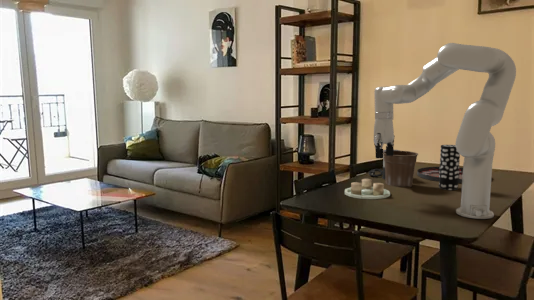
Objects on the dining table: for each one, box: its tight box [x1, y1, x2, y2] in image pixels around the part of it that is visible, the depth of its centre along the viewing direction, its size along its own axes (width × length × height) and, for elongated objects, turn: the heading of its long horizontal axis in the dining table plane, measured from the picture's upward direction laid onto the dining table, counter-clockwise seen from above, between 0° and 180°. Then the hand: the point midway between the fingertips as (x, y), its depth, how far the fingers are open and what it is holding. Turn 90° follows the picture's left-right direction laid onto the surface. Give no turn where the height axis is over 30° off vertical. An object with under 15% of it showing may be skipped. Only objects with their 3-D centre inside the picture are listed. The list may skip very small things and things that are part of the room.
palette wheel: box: [416, 166, 463, 184], centre depth 230 cm, size 35×35×3 cm
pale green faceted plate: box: [344, 186, 391, 200], centre depth 189 cm, size 19×19×2 cm
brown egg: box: [372, 182, 385, 196], centre depth 185 cm, size 4×4×5 cm
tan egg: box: [350, 181, 362, 195], centre depth 187 cm, size 4×4×5 cm
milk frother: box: [368, 149, 401, 180], centre depth 227 cm, size 14×16×15 cm
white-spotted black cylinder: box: [438, 144, 461, 191], centre depth 201 cm, size 8×8×20 cm
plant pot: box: [383, 150, 419, 188], centre depth 208 cm, size 16×16×16 cm
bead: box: [361, 178, 373, 190], centre depth 194 cm, size 4×4×5 cm
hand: (384, 156), depth 183 cm, fingers open, 9 cm apart
